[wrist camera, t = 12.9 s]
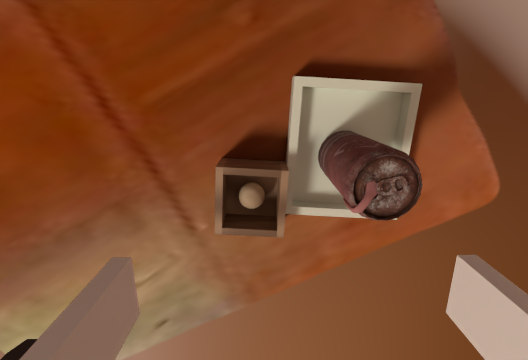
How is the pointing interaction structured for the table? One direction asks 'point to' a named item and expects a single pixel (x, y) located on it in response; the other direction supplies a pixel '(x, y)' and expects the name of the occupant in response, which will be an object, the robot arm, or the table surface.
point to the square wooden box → (245, 219)
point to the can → (370, 175)
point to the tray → (341, 119)
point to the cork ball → (251, 195)
